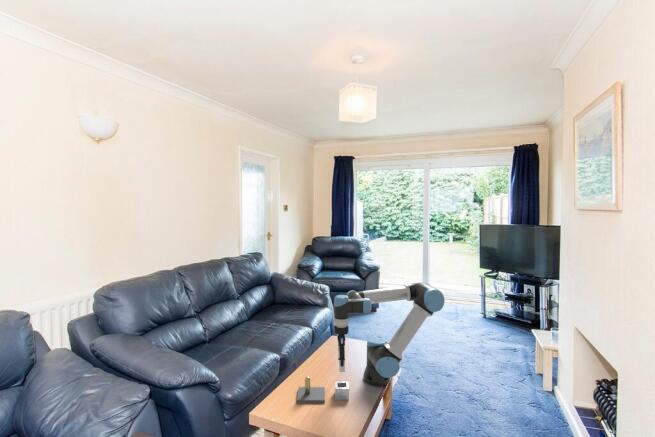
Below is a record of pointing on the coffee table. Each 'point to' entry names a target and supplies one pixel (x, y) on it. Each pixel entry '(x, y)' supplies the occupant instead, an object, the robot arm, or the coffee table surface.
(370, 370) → the robot arm
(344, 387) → the steel collar
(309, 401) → the keeper plate
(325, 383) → the coffee table surface
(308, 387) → the pin
